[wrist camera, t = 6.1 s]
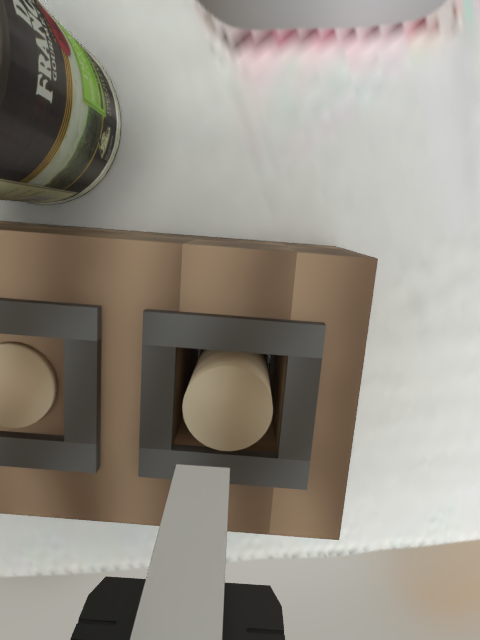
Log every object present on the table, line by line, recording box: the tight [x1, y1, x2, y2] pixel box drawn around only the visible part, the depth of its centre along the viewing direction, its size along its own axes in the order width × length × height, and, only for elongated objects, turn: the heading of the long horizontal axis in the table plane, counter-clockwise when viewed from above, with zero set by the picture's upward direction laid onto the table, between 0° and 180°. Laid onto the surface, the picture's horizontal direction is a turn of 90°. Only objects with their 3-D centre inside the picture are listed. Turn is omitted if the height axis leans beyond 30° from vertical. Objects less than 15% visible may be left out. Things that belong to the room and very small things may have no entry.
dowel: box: [182, 349, 273, 451], centre depth 24 cm, size 4×4×9 cm
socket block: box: [0, 221, 378, 540], centre depth 26 cm, size 22×14×11 cm, turn 86°
